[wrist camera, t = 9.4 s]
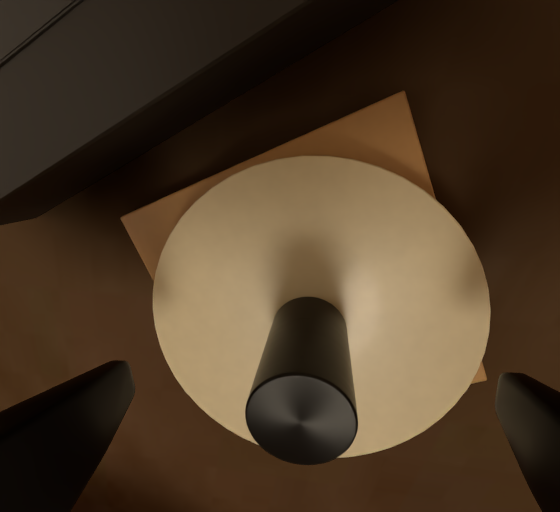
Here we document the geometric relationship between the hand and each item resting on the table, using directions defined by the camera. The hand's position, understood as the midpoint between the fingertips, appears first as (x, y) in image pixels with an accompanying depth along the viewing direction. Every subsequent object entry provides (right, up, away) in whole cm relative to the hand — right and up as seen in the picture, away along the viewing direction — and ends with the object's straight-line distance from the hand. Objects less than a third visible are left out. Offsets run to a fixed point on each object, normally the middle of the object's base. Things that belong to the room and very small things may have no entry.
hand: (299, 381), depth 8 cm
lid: (+1, +1, +3) cm, 3 cm away
